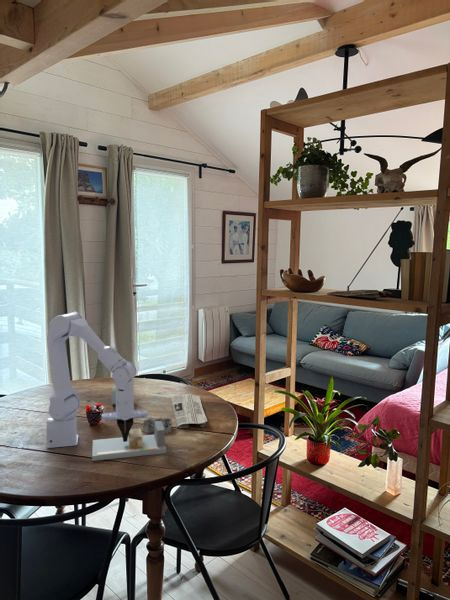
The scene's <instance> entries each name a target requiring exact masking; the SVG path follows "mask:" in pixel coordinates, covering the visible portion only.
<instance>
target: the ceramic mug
mask: <svg viewBox="0 0 450 600" xmlns="http://www.w3.org/2000/svg"><path fill="white" fill-rule="evenodd" d="M110 399H111V405H112V406H116V385H114V386H113V387H112V389H111V398H110Z"/></svg>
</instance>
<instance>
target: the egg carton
mask: <svg viewBox="0 0 450 600" xmlns="http://www.w3.org/2000/svg"><path fill="white" fill-rule="evenodd" d="M154 421H162V424H163V427H164V429H165V434H168V433H171V432H172V425H173V417H172V416H171V417H167V418H166V417H164V418H163V417H155V418H154V417H148V418H144V420H143V422H142V432H143V433H146V434H150V433H154Z"/></svg>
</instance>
